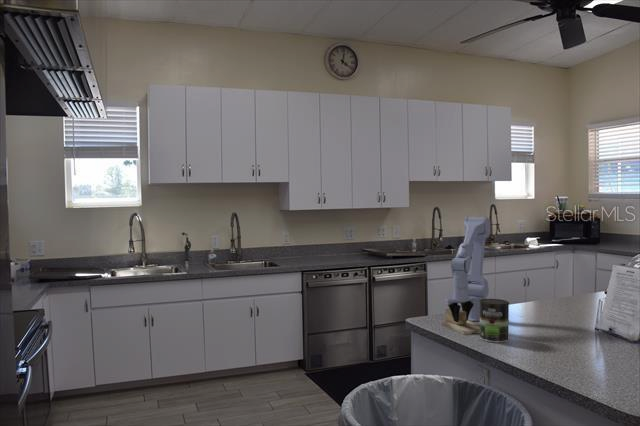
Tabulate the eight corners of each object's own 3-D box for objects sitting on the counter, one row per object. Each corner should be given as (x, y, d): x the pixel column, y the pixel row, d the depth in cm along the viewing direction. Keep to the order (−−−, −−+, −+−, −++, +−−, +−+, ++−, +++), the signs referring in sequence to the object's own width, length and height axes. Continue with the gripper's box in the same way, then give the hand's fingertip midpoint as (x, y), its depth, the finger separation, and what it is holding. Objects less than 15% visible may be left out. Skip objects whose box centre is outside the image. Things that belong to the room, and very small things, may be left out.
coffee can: (506, 344, 180) (506, 304, 180) (477, 340, 185) (477, 302, 185) (510, 337, 189) (510, 299, 189) (482, 334, 194) (482, 297, 194)
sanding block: (453, 320, 212) (453, 308, 212) (466, 324, 205) (466, 312, 205) (445, 321, 211) (445, 309, 210) (458, 325, 203) (458, 312, 203)
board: (467, 322, 213) (467, 319, 213) (490, 332, 197) (491, 328, 197) (442, 324, 209) (442, 321, 209) (463, 334, 194) (463, 331, 194)
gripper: (468, 284, 211) (468, 317, 212) (439, 287, 205) (439, 320, 206) (480, 287, 205) (480, 320, 205) (451, 289, 199) (451, 324, 199)
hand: (460, 320), depth 205 cm, fingers closed on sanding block, 4 cm apart
